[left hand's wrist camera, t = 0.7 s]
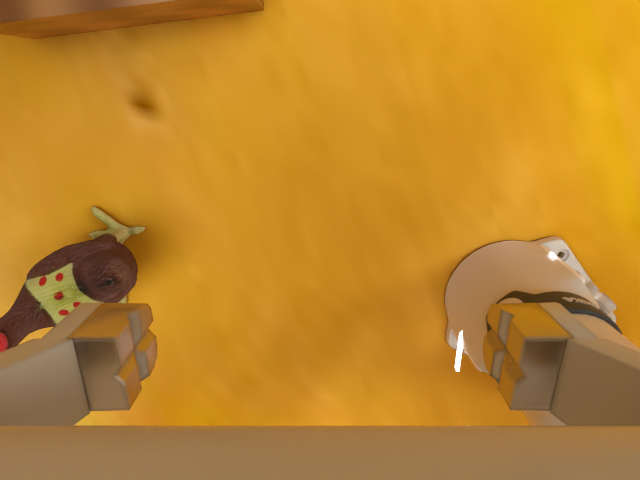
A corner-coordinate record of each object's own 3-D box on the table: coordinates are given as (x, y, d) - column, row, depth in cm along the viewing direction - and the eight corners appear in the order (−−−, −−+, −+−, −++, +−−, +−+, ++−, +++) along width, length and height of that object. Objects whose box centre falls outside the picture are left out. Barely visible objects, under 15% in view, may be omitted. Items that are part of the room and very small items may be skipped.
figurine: (48, 251, 50) (-112, 352, 32) (127, 172, 47) (0, 233, 28) (118, 310, 53) (10, 435, 35) (197, 240, 50) (125, 336, 31)
